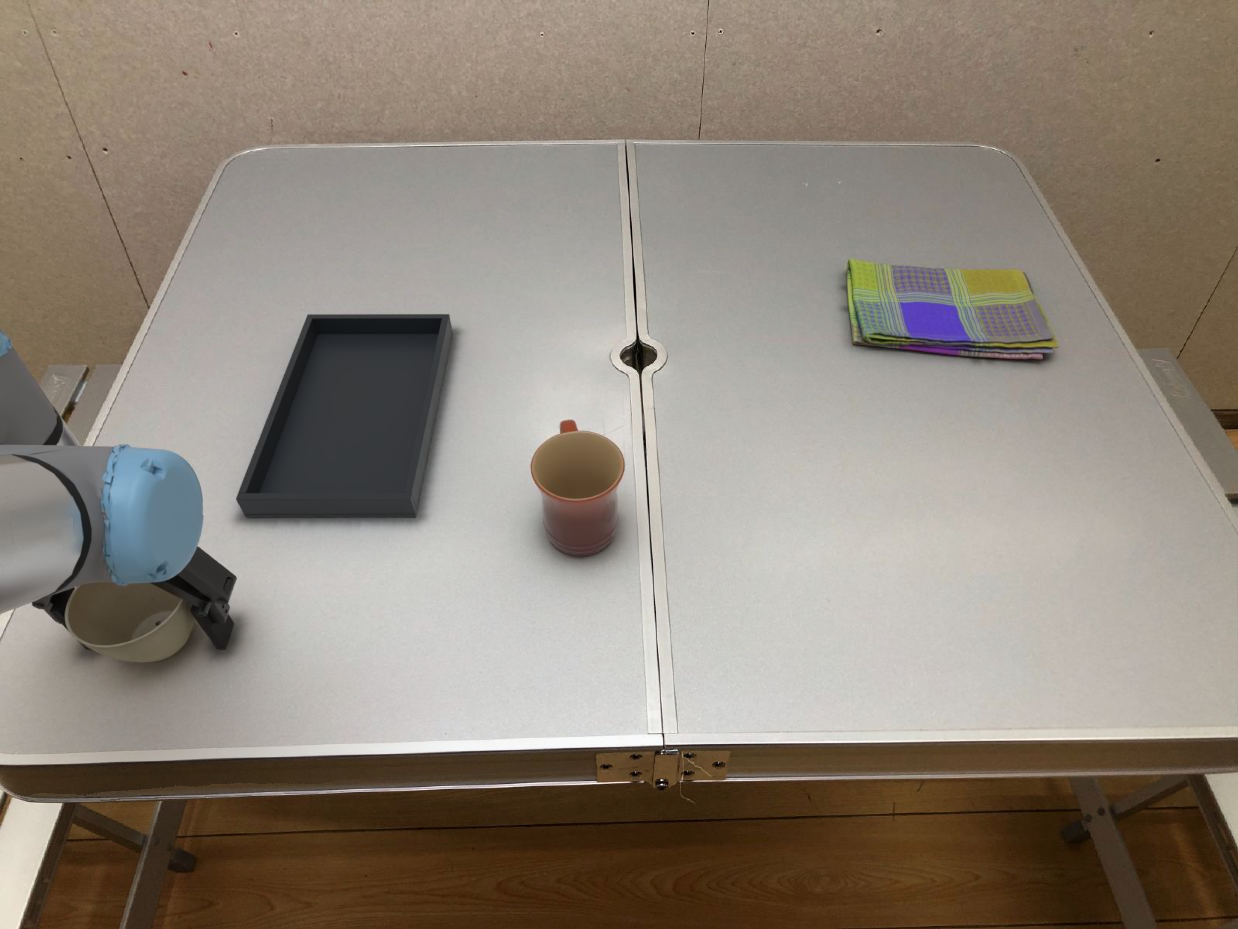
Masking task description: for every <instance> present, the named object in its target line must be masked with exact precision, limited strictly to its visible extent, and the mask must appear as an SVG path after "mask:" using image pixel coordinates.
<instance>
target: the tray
mask: <svg viewBox="0 0 1238 929" xmlns="http://www.w3.org/2000/svg"><path fill="white" fill-rule="evenodd" d="M453 332H454V331H453V326H452V320H451V316H450V313H395V314H394V313H381V314H380V313H366V314H365V313H360V314H359V313H354V314H353V313H350V314H349V313H345V314H344V313H343V314H342V313H341V314H340V313H338V314H334V313H333V314H332V313H329V314H327V313H325V314H324V313H323V314H322V313H318V314H316V313H313V314H309V313H308V314H307V315H306V317H305V320H304V323H303V325H302V328H301V331H300V332H299V335H298V338H297V340H296V343H295V346H294V348H293V351H292V353H291V356H290V358H289V361H288V364H287V366H286V369H285V370H284V371H285V372H284V374H283V377H282V379H281V381H280V383H279V387H278V389H277V392H276V394H275V397H274V400H273V402H272V404H271V407H270V409H269V413H268V415H267V417H266V420H265V423H264V425H263V428H262V430H261V433H260V436H259V438H258V440H257V443H256V445H255V448H254V451H253V453H252V455H251V458H250V461H249V464H248V466H247V469H246V471H245V473H244V475H243V479H242V482H241V484H240V487H239V490H238V491H237V495H236V497H235V500H236V503H237V505H238V506H239V508H240V510H241V512H242V514H243V516H244V517H245V519H265V518H266V519H282V518H283V519H288V518H289V519H290V518H291V519H296V518H297V519H298V518H299V519H301V518H302V519H306V518H308V519H309V518H311V519H312V518H313V519H314V518H315V519H318V518H323V519H327V518H333V519H334V518H335V519H337V518H341V519H343V518H344V519H345V518H350V519H351V518H352V519H353V518H355V519H356V518H369V519H370V518H371V519H372V518H417V514H418V508H419V503H420V500H421V494H422V489H423V483H424V480H425V474H426V470H427V469H426V468H427V464H428V459H429V454H430V450H431V449H430V448H431V444H432V441H433V440H432V439H433V434H434V429H435V425H436V419H437V415H438V411H439V410H438V409H439V404H440V400H441V394H442V389H443V385H444V380H445V375H446V370H447V364H448V359H449V355H450V349H451V345H452V340H453V335H454V333H453Z"/></svg>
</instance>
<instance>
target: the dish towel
mask: <svg viewBox="0 0 1238 929" xmlns="http://www.w3.org/2000/svg"><path fill="white" fill-rule="evenodd" d="M846 275H847V276H846V280H847V281H846V288H847V289H846V291H847V302H848V313H849V320H850V325H851V326H850V327H851V338H852V344H854V345H860V346H870V347H871V346H872V347H882V348H889V349H890V348H891V349H899V350H900V349H901V350H911V351H918V352H925V353H934V354H942V355H943V354H944V355H953V356H961V357H975V358H993V359H995V358H996V359H1006V360H1029V359H1034V360H1043V358H1044V356H1043V354H1051V355H1053V354H1054V349H1059V347H1060V345H1059V343H1058V341H1057V339H1056V336H1055V334H1054V332H1053V330H1052V329H1051V326H1050V324H1049V321H1048V320H1047V316H1046V314H1045V312H1044V310H1043V308H1042V305H1041V303H1040V302H1039V300H1038V298H1037V296H1036V294H1035V292H1034V288H1033V286H1032V282H1031V280H1030V278H1029V276H1028V275H1027V273H1026V271H1025V272H1024V271H1021V269H1019V268H1018V269H1017V268H999V269H996V268H995V269H992V268H991V269H990V268H985V269H981V268H978V269H977V268H976V269H964V268H963V269H962V268H940V267H939V268H938V267H937V268H933V267H925V266H914V265H913V266H912V265H903V264H902V265H901V264H900V265H898V264H888V263H877V262H871V261H865V260H862V259H856V258H849V259H848V261H847V263H846Z"/></svg>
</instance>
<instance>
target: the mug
mask: <svg viewBox="0 0 1238 929" xmlns="http://www.w3.org/2000/svg"><path fill="white" fill-rule="evenodd" d="M625 461H626V460H625V457H624V454H623V452H622V451H621V449H620V448H619V446H618V445H617V444H616V443H615V442H614V441H612V440H611V439H609V438H608V437H606V436H604V435H602V434H599V433H596V432H593V431H590V430H579V429H578V426H577V423H576V421H575V420H574V419H565V420H562V421H560V423H559V434H555V435H553V436H551V437H550V438H548V439H546V440H545V441H544V442H542V443H541V444H540V446H538V448H537V449H536V450H535V452H534V454H533V456H532V458H531V461H530V475H531V478H532V480H533V482H534V484H535V485H536V487H537V488H538V490H539V492H540V494H541V506H542V507H541V508H542V522H543V526H544V530H545V532H546V533H545V534H546V535H547V537H548V539H549V541H550V543H552V545H553V546H554V547H555V548H556V549H558V550H559V551H561V552H562V553H564V554H567V555H571V556H578V557H579V556H589V555H593V554H596V553H599V552H600V551H602V550H603V549H605V548H606V547H607V546H608V545H609V544H610V543H611V541H612V540H613V538H614V536H615V534H616V529H617V526H618V522H619V506H618V487H619V485H620V483H621V481H622V480H623V476H624V475H625V470H626V462H625Z"/></svg>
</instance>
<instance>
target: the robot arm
mask: <svg viewBox="0 0 1238 929" xmlns="http://www.w3.org/2000/svg"><path fill="white" fill-rule="evenodd" d="M13 345H14V344H13V342H12V339H11V338H10V337H9V336H8V335H7V334H5V333H4V332H3V331H2V329H0V615H2V614H4V613H7V612H10V611H13V610H15V609H18V608H20V607H23V606H27V605H28V604H31V606H32V607H34V608H35V609H38V610H43V611H44V612H45V613H46V614H47V615H48V616H49V617H50V618H51V619H52V620H53V621H54V622H56V624H59V625H61V626H62V627H64V628H65V629H66V630H67V631H68V629H67V626H66V623H65V610H66V606H67V602H68V600H69V598H70V596H71V594H72V592H73V590H74V589H75V587H77V586H79V585H83V584H87V583H96V582H110V583H115V584H117V585H118V586H119V585H122V586H126V585H129V584H131V583H151V584H153V585H155V586H157V587H159V588H161V589H163V590H165V591H167V592H169V593H171V594H173V595H175V596H177V597H179V598H181V599H183V600H185V601H187V602H189V603H190V604H192V606H191V608H190V612H191V614H192V615H193V617H194V618H195V621H196V622H197V624H198V625H199V626H200V629H201V630H203V632H204V634H206V636H207V637H208V639H209V640H210V641H211V643H212V644H213V646H214V647H215V649H216V650H226V648H227V645H228V642H229V639H230V636H231V634H232V631H233V628H234V626H235V625H234V624H235V622H234V620H233V619H232V617H231V616H230V615H229V613H230V609H231V606H230V604H229V602H230V599H231V597H232V594H233V590H234V588H235V585H236V582H237V579H238V577H237V576H236V575H235V574H234V573H233V572H232V571H230V570H229V569H227V568H226V567H225V566H224V565H223V564H221V563H220V562H219V561H218V560H216V559H215V558H214V557H212V556H211V555H210V554H208V552H206V551H205V550H204V549H202V548H201V547H200V546H198V545H199V543H200V539H201V536H202V531H203V525H204V497H203V492H202V486H201V482H200V481H199V478H198V476H197V473H196V471H195V469H194V468H193V466H192V465H191V464H190V463H189V461H187V460H186V459H185V458H184V457H183V456H182V455H180V454H178V453H176V452H174V451H172V450H169V449H163V448H150V447H148V448H146V447H135V446H131V445H129V444H128V443H127V444H125V443H123V444H121V443H120V444H118V445H114V446H107V445H105V446H103V445H102V446H101V445H100V446H98V445H97V446H96V445H82V444H81V442H79V440H78V439H77V438H76V436H75V434H74V433H73V431H72V430H71V429H70V427H69V426H68V424H67V423H66V422H65V420H64V419H63V417H62V416H61V415H60V414H59V412H58V411H57V409H56V407H55V406H54V405H53V403H52V402H51V401H50V400H49V398H48V396H47V395H46V393H45V392H44V391H43V389H42V387H41V386H40V384H39V383H38V382H37V380H36V378H35V377H34V376H33V374H32V372H31V371H30V370H29V368H28V366H27V365H26V364H25V362H24V361H23V360H22V358H21V356H20V355H19V353H18V352H17V350H16V349H15V347H14V346H13ZM76 641H77V642H78V643H79V644H80V645H81V646H82V647H83V648H84V649H85V650H91V649H90V648H88V647H87V646H85V645H83V644H82V643H80V642H79V641H78V640H76Z"/></svg>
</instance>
